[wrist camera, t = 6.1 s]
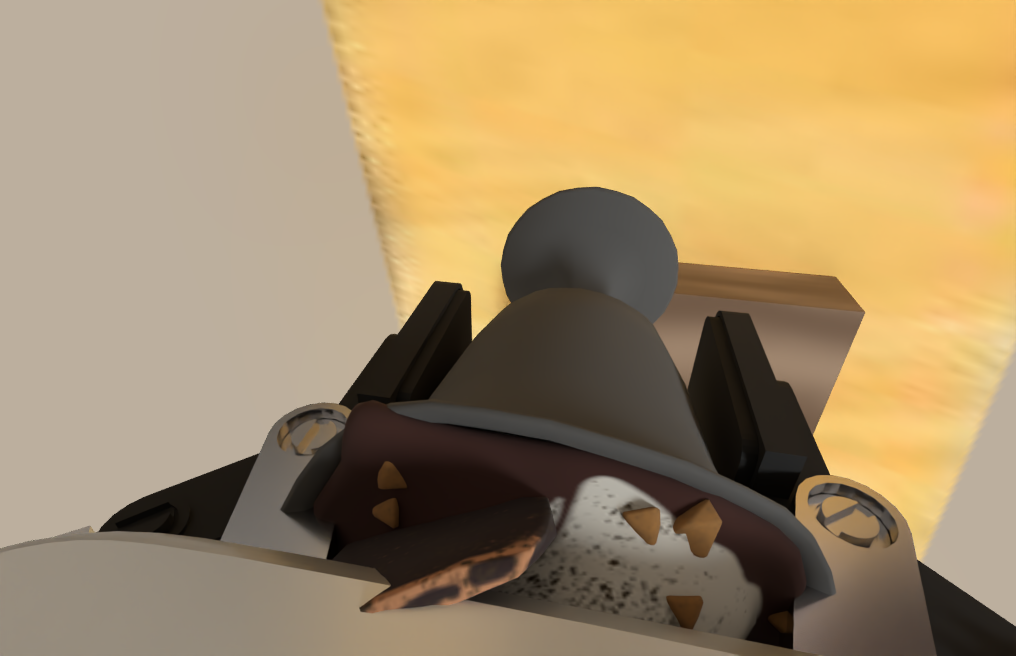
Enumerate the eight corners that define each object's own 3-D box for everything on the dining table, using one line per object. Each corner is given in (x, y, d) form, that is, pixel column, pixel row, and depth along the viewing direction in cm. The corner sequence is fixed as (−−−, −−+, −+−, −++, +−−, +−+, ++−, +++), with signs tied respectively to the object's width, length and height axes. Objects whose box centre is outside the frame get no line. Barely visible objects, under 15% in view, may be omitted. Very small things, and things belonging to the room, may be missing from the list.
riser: (574, 253, 30) (568, 282, 27) (835, 276, 28) (865, 312, 25) (557, 435, 37) (551, 477, 34) (764, 465, 35) (779, 512, 32)
